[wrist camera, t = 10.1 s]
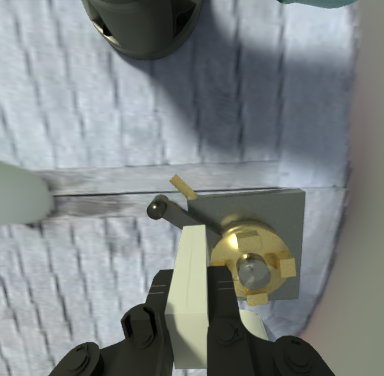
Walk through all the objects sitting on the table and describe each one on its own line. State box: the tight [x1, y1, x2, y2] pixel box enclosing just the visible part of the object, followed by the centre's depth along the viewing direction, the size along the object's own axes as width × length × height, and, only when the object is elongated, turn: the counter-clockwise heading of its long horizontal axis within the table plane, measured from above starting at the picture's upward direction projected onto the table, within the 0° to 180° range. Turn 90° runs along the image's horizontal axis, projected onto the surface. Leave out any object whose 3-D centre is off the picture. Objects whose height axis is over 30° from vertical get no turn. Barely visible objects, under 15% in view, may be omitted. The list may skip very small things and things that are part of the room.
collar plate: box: [170, 174, 305, 301], centre depth 32 cm, size 24×21×2 cm
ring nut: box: [147, 194, 296, 306], centre depth 28 cm, size 24×12×5 cm, turn 57°
